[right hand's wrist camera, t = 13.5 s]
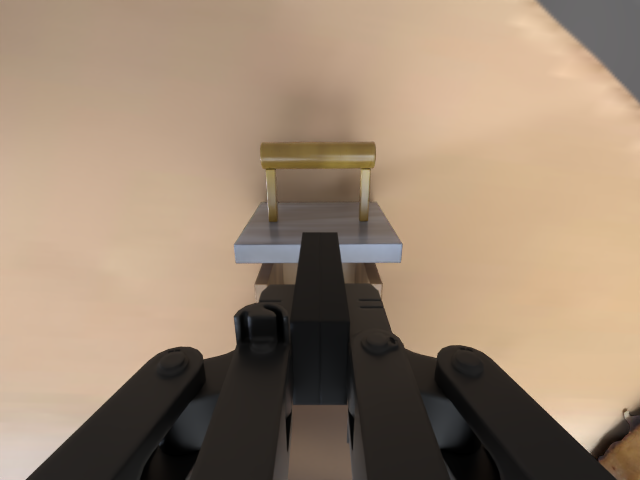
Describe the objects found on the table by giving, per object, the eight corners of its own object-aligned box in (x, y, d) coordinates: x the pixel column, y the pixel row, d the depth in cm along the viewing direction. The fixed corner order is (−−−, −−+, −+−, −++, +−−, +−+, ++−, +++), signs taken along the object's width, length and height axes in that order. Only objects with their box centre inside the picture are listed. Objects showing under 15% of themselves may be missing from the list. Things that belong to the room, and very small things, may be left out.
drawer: (256, 136, 26) (223, 150, 17) (380, 136, 26) (411, 149, 17) (272, 368, 34) (255, 458, 26) (367, 368, 34) (383, 458, 25)
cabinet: (263, 304, 33) (235, 399, 22) (375, 304, 33) (402, 398, 22) (273, 442, 40) (256, 567, 29) (366, 442, 40) (384, 567, 29)
